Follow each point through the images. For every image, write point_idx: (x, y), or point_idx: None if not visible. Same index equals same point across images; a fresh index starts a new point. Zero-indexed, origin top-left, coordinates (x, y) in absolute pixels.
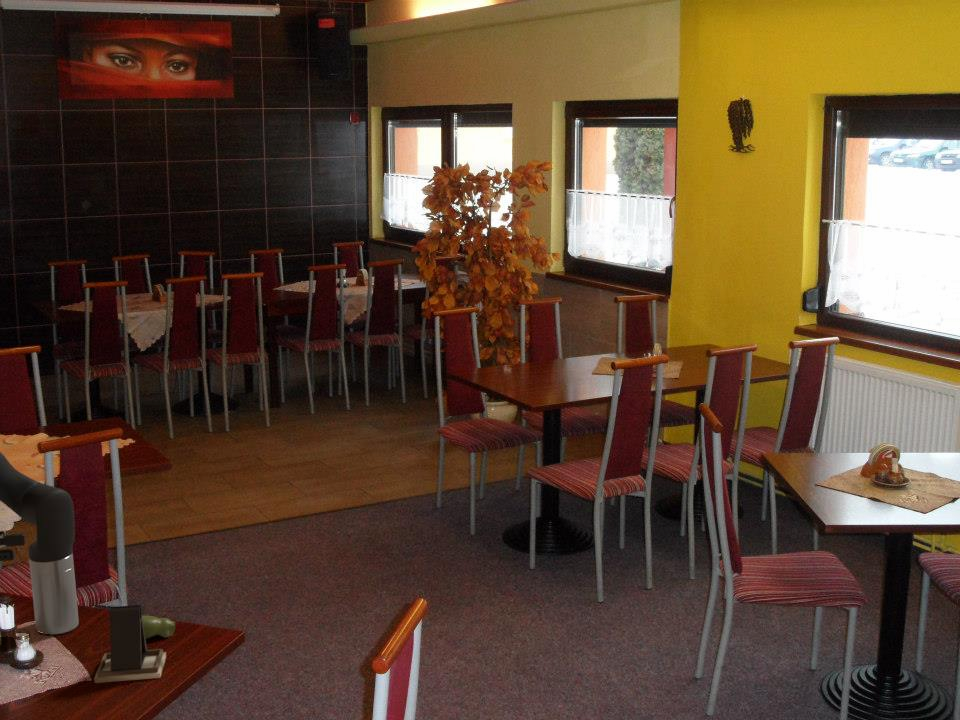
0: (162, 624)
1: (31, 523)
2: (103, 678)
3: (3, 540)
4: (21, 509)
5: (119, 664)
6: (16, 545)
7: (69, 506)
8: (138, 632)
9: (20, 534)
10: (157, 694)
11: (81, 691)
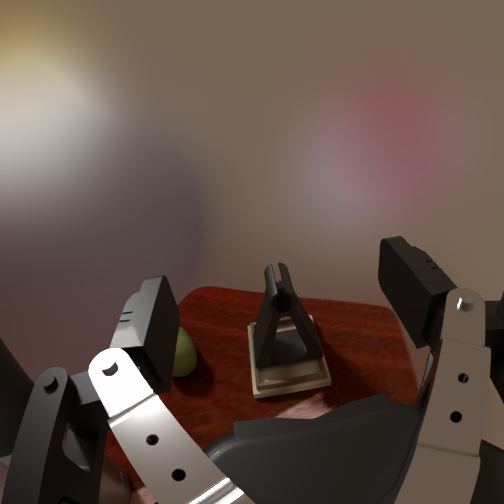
0: (183, 332)
1: None
2: (328, 370)
3: (146, 380)
4: None
5: (318, 341)
6: (175, 344)
7: None
8: (295, 293)
9: (143, 285)
10: (353, 309)
11: (358, 391)
